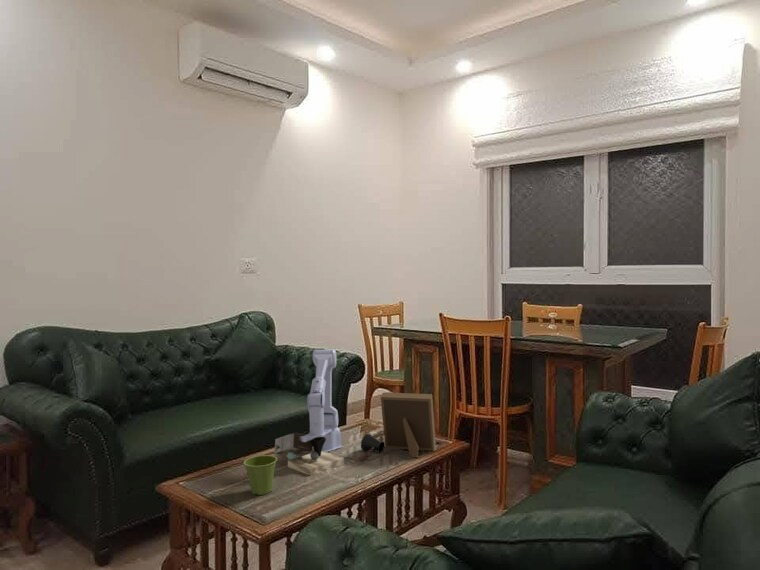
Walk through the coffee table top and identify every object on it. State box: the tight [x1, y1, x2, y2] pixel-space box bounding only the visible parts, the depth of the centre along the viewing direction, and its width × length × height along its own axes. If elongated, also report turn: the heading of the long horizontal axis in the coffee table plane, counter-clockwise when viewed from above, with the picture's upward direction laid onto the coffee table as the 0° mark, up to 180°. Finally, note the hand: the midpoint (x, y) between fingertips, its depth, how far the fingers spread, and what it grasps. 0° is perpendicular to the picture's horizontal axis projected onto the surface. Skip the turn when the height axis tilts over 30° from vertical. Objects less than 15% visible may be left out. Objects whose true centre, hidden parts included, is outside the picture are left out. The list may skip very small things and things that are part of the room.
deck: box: [287, 451, 345, 477], centre depth 226 cm, size 17×15×2 cm
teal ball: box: [286, 451, 297, 460], centre depth 226 cm, size 3×3×3 cm
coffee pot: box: [357, 433, 385, 462], centre depth 238 cm, size 8×18×8 cm
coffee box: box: [273, 432, 314, 457], centre depth 230 cm, size 9×6×16 cm
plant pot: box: [243, 454, 278, 496], centre depth 200 cm, size 12×12×11 cm
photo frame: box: [380, 391, 437, 458], centre depth 240 cm, size 15×22×25 cm
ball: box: [310, 450, 319, 460], centre depth 225 cm, size 3×3×3 cm
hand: (317, 455), depth 226 cm, fingers closed, pressing on ball
